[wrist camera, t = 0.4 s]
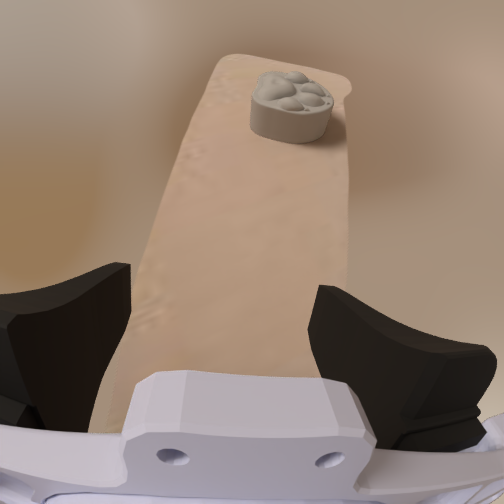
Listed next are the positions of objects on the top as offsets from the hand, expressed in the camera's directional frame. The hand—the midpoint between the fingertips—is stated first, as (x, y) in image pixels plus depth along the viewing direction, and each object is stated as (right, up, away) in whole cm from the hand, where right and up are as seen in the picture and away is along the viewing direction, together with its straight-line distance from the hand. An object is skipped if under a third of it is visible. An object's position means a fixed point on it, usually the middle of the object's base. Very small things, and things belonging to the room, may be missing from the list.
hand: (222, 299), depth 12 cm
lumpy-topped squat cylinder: (+8, +24, +41) cm, 48 cm away
